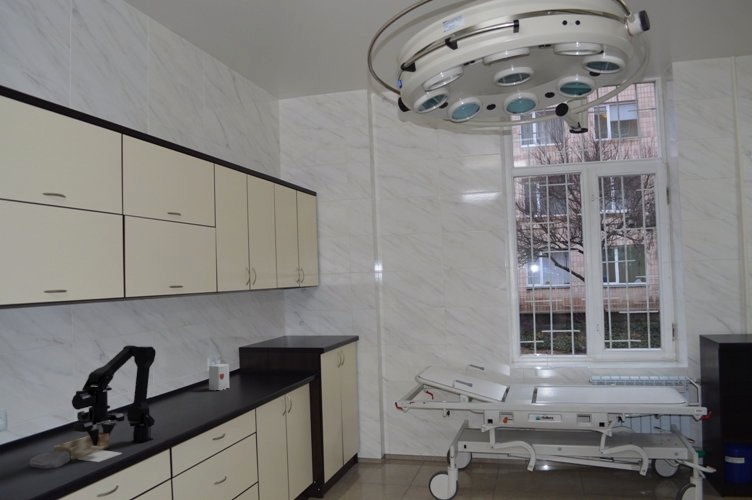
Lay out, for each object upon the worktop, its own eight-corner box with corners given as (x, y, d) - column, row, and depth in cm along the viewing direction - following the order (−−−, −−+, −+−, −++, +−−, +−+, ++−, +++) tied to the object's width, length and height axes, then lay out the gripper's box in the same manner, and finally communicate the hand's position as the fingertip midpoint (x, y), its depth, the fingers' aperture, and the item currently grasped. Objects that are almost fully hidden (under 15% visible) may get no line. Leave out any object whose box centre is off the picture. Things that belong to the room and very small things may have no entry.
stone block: (57, 473, 210) (72, 459, 220) (54, 461, 209) (70, 448, 219) (26, 475, 211) (43, 461, 220) (23, 463, 210) (41, 449, 220)
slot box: (92, 445, 238) (92, 434, 238) (109, 447, 234) (109, 436, 234) (54, 458, 223) (53, 446, 223) (71, 460, 218) (71, 448, 218)
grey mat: (102, 451, 230) (102, 450, 230) (122, 453, 225) (122, 452, 225) (77, 459, 220) (77, 458, 220) (97, 462, 215) (97, 461, 215)
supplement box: (218, 391, 348) (218, 366, 349) (208, 390, 353) (208, 365, 354) (230, 388, 356) (229, 364, 357) (220, 387, 361) (219, 363, 362)
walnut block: (100, 442, 225) (99, 432, 226) (109, 443, 223) (108, 433, 224) (91, 445, 222) (91, 435, 222) (100, 446, 220) (100, 436, 220)
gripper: (105, 397, 235) (106, 436, 234) (63, 407, 218) (64, 449, 218) (124, 399, 230) (125, 438, 230) (83, 409, 214) (84, 452, 213)
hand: (100, 444), depth 223 cm, fingers closed on walnut block, 4 cm apart
